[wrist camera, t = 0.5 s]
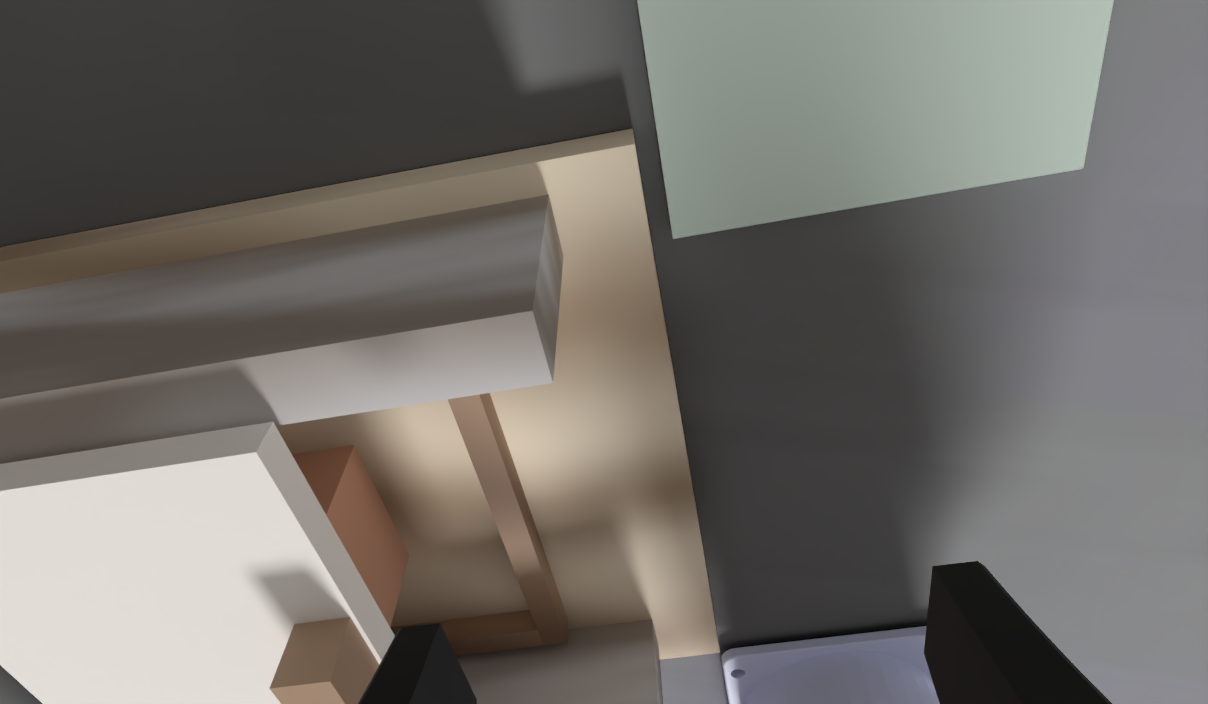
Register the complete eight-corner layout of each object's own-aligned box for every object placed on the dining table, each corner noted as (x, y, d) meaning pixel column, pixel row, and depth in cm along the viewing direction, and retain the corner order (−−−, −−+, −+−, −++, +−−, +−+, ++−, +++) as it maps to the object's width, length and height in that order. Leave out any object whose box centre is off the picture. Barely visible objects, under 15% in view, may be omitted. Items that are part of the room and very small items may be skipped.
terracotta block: (409, 555, 23) (372, 695, 19) (269, 574, 23) (206, 714, 19) (354, 445, 20) (299, 582, 17) (199, 468, 21) (111, 607, 17)
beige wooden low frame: (716, 627, 26) (742, 801, 22) (140, 695, 29) (48, 868, 24) (632, 128, 16) (646, 249, 12) (-245, 292, 19) (-536, 451, 14)
